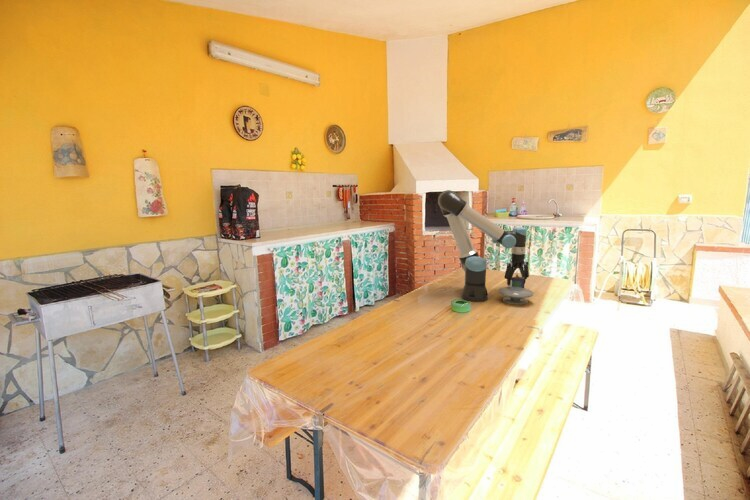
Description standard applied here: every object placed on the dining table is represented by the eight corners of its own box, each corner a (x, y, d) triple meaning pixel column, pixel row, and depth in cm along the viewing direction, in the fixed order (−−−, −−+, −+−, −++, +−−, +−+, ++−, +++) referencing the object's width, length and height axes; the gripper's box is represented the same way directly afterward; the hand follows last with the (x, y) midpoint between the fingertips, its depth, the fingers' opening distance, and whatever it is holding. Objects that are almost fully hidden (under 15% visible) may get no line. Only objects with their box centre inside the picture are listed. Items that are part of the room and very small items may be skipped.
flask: (508, 291, 219) (509, 274, 217) (507, 290, 221) (508, 273, 219) (524, 292, 217) (525, 275, 215) (523, 291, 220) (524, 274, 218)
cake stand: (511, 308, 191) (512, 297, 190) (491, 298, 208) (492, 288, 207) (539, 304, 196) (540, 294, 194) (518, 295, 213) (518, 285, 211)
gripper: (507, 255, 208) (504, 292, 212) (537, 253, 214) (534, 289, 218) (499, 253, 215) (497, 289, 220) (528, 250, 221) (526, 286, 225)
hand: (515, 289), depth 219 cm, fingers closed on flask, 8 cm apart
